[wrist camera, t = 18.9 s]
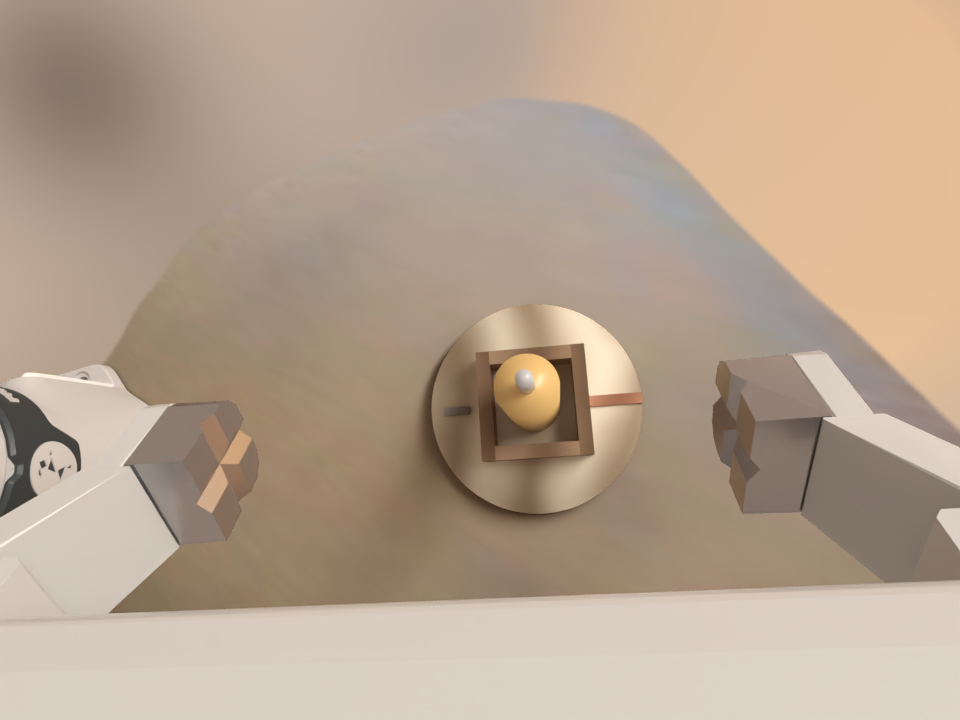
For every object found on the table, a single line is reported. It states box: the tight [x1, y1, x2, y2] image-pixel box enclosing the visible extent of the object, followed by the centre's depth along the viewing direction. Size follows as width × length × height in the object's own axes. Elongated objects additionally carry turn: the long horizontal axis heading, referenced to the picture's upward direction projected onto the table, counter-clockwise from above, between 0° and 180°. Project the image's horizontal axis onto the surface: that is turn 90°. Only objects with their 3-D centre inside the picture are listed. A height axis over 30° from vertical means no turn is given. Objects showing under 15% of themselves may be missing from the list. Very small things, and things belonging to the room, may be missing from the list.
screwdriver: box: [494, 354, 560, 432], centre depth 40 cm, size 4×4×13 cm
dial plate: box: [432, 304, 643, 514], centre depth 46 cm, size 16×16×4 cm
